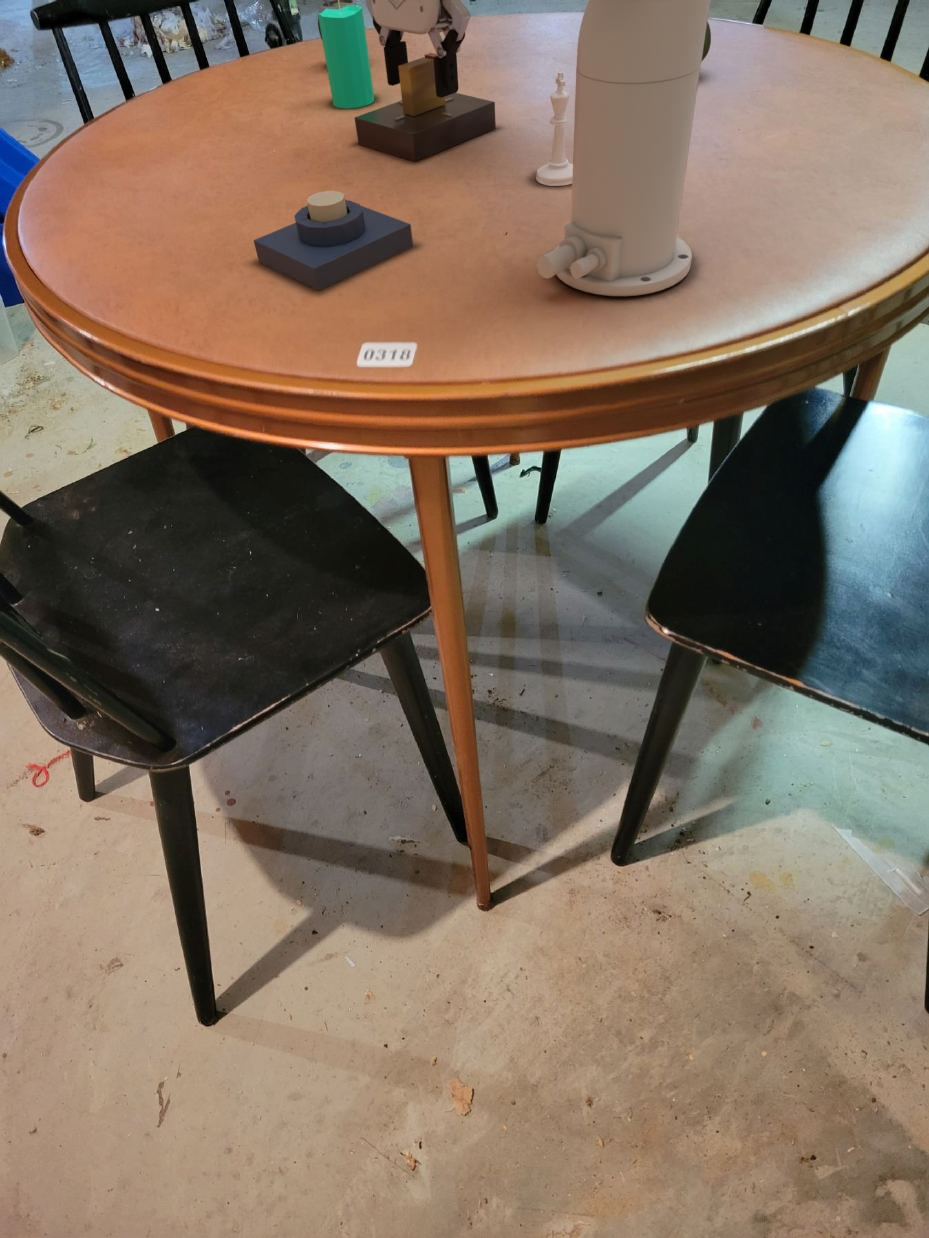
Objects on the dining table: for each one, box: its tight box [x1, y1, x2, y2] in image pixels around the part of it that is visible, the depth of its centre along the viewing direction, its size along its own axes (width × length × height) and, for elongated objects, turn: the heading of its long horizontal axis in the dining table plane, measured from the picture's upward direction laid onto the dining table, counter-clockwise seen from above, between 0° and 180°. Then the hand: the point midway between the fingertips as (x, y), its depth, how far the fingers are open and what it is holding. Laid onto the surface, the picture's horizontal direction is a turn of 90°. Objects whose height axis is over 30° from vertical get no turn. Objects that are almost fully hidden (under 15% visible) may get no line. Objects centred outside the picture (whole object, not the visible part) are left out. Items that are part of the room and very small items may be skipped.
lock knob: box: [398, 52, 445, 116], centre depth 95 cm, size 5×2×5 cm, turn 134°
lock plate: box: [354, 92, 496, 163], centre depth 98 cm, size 14×11×3 cm
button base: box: [253, 199, 414, 292], centre depth 76 cm, size 12×10×4 cm
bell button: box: [306, 190, 348, 222], centre depth 74 cm, size 4×4×2 cm
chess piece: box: [535, 71, 573, 187], centre depth 83 cm, size 5×5×10 cm
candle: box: [317, 0, 375, 109], centre depth 106 cm, size 6×6×12 cm
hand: (422, 88), depth 95 cm, fingers open, 8 cm apart
